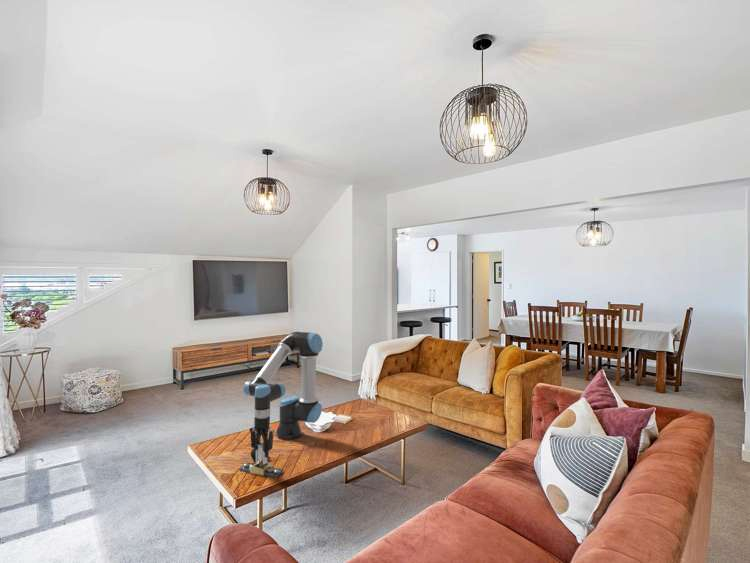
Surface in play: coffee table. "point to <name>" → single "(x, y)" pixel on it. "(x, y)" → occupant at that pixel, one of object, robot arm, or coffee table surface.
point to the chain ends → (261, 469)
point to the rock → (253, 455)
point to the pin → (260, 454)
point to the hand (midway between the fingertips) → (261, 462)
